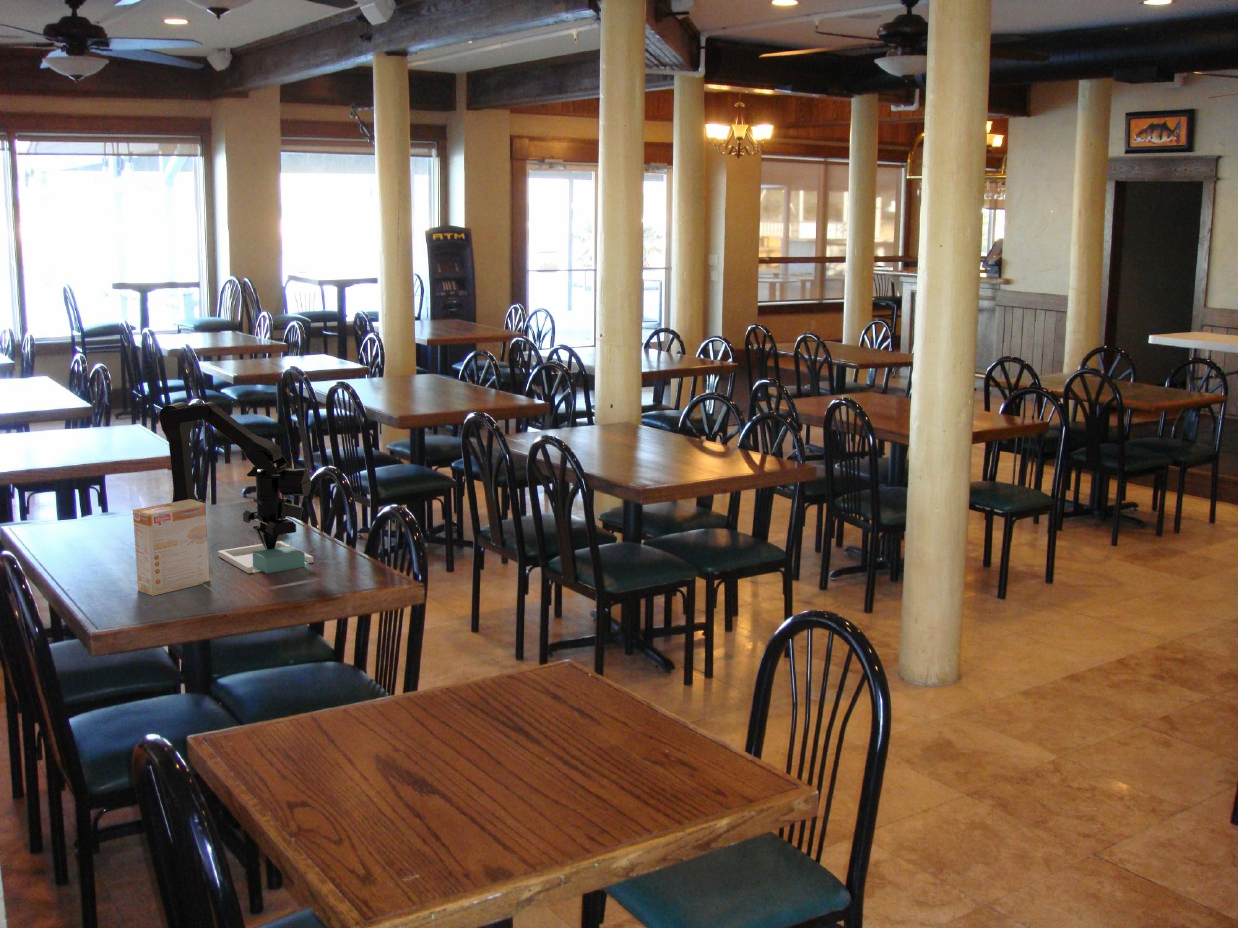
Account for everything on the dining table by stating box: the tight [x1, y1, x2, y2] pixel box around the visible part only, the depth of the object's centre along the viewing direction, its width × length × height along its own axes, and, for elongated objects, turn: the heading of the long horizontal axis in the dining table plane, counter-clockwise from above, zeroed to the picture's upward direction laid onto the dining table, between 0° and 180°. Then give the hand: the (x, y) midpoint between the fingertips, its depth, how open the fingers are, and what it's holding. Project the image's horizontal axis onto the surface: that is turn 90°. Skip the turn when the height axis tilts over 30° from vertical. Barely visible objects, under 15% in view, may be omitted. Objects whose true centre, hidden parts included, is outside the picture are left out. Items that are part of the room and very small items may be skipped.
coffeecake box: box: [132, 499, 211, 597], centre depth 283 cm, size 15×7×20 cm, turn 141°
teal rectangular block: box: [252, 545, 306, 574], centre depth 301 cm, size 10×8×4 cm
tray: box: [217, 540, 314, 574], centre depth 307 cm, size 17×19×2 cm
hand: (270, 554), depth 304 cm, fingers closed
